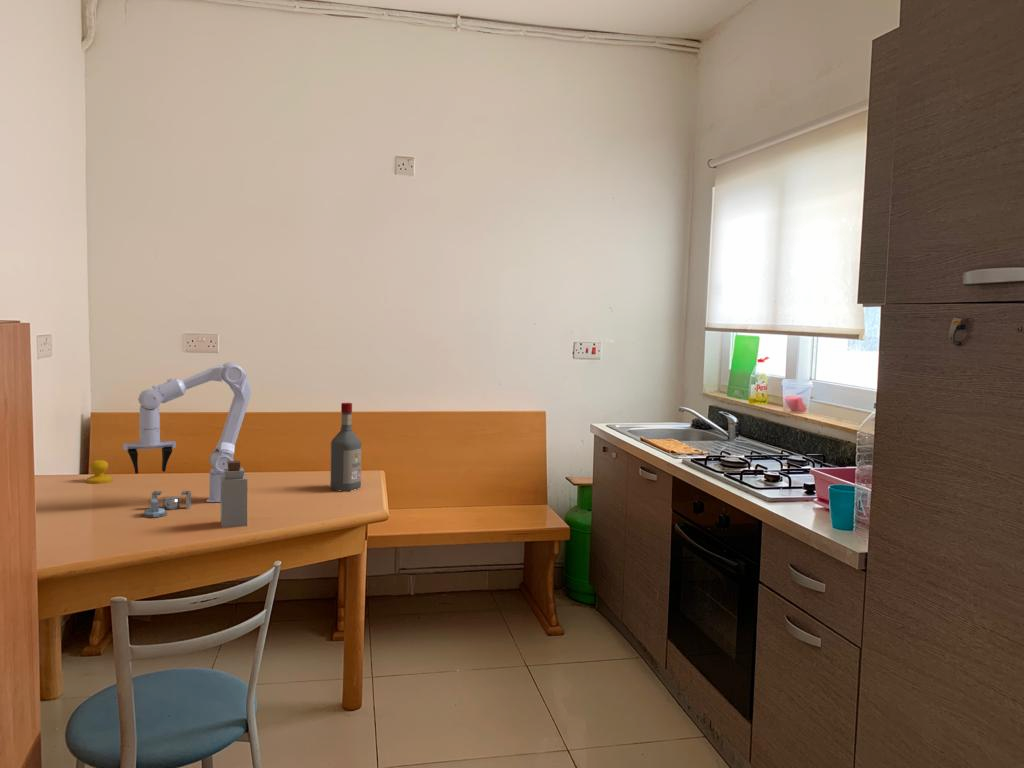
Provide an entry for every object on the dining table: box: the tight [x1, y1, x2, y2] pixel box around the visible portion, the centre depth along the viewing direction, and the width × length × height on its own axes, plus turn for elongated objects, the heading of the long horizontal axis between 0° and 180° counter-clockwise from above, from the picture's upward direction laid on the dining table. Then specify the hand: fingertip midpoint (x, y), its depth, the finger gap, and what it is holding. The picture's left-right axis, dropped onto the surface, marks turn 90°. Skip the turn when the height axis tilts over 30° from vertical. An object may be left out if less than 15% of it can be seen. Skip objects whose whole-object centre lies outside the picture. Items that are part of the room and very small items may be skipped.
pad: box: [141, 510, 169, 519], centre depth 233 cm, size 7×7×1 cm
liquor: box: [329, 402, 362, 492], centre depth 274 cm, size 9×9×30 cm
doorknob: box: [86, 459, 113, 485], centre depth 275 cm, size 8×8×8 cm
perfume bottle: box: [220, 460, 248, 529], centre depth 226 cm, size 7×7×18 cm
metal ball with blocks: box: [151, 490, 192, 511], centre depth 242 cm, size 11×5×5 cm, turn 101°
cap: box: [143, 498, 166, 518], centre depth 233 cm, size 8×6×4 cm
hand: (150, 472), depth 243 cm, fingers open, 7 cm apart
